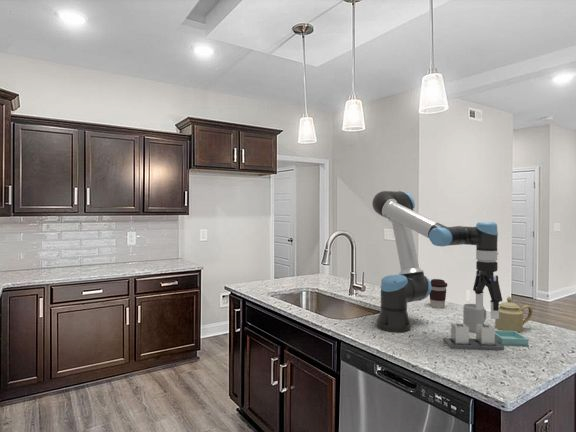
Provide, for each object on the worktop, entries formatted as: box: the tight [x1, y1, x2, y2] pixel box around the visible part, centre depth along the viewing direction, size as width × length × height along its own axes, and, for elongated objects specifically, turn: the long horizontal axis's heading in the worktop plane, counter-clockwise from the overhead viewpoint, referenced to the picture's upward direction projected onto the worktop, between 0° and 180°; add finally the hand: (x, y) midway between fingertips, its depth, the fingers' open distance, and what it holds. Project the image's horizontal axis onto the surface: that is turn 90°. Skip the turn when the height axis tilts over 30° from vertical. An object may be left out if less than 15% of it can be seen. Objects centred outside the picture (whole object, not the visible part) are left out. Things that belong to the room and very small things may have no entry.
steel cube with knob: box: [475, 323, 496, 346], centre depth 153 cm, size 5×5×8 cm
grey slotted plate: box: [442, 337, 505, 351], centre depth 154 cm, size 20×9×1 cm, turn 86°
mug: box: [462, 303, 487, 334], centre depth 174 cm, size 12×8×11 cm
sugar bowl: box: [494, 295, 533, 333], centre depth 176 cm, size 15×11×15 cm
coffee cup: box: [429, 278, 448, 309], centre depth 213 cm, size 10×10×15 cm
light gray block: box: [450, 322, 470, 345], centre depth 154 cm, size 5×5×8 cm
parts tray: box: [495, 329, 529, 347], centre depth 159 cm, size 10×10×3 cm
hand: (486, 314), depth 153 cm, fingers open, 13 cm apart
